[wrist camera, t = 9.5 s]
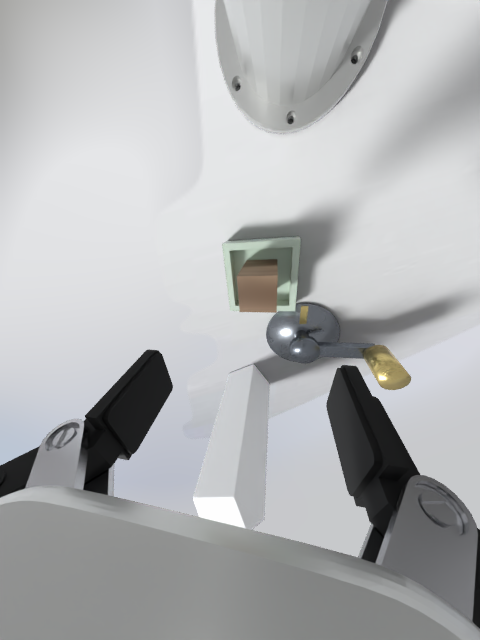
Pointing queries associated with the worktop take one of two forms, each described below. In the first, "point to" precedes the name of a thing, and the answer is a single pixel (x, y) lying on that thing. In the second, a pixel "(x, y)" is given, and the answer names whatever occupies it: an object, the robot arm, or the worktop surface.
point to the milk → (237, 454)
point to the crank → (375, 356)
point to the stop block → (258, 286)
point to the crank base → (301, 327)
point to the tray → (264, 249)
